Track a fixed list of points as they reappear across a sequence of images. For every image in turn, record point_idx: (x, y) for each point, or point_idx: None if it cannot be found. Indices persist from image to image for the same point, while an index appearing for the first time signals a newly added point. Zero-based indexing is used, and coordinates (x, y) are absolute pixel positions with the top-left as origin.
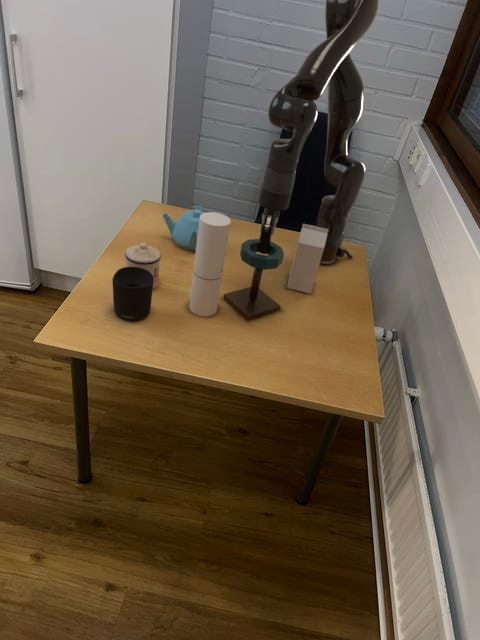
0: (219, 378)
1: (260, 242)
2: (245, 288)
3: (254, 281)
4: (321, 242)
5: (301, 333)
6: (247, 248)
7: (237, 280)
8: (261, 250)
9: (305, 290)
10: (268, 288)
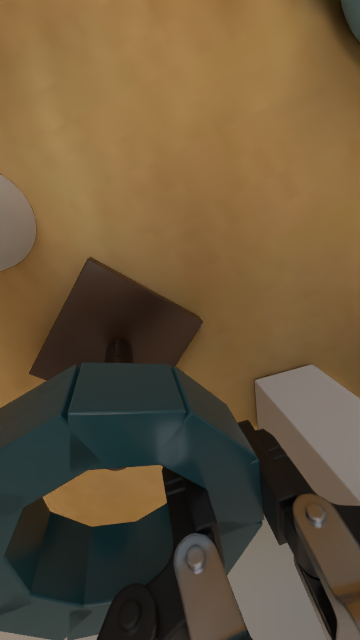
0: None
1: (189, 503)
2: (167, 304)
3: None
4: None
5: (86, 474)
6: (19, 484)
7: (220, 251)
8: (163, 477)
9: (259, 422)
10: (228, 343)
